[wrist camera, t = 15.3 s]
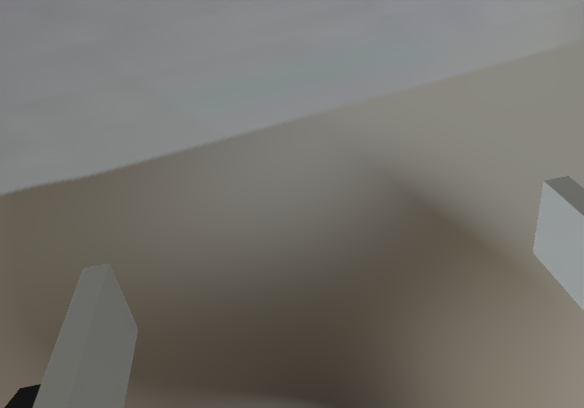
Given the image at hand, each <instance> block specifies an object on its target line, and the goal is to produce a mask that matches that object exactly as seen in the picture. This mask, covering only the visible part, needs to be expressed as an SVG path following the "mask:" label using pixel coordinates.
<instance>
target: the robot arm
mask: <svg viewBox="0 0 584 408" xmlns="http://www.w3.org/2000/svg"><path fill="white" fill-rule="evenodd" d="M533 253H534V254H535V255H536V256H537V258H538V259H539V260H540V261H541V262H542V263H543V265H544V266H545V267H546V268H547V269H548V270H549V271H550V273H551V274H552V275H553V276H554V277H555V278H556V279H557V281H558V282H559V283H560V284H561V285H562V286H563V287H564V288H565V290H566V291H567V292H568V293H569V294H570V295H571V297H572V298H573V299H574V300H575V301H576V302H577V303H578V304H579V306H580V307H581V308H582V309H583V310H584V188H583V187H581V186H580V185H579V184H578V183H576V182H575V181H574V180H572V179H571V178H570V177H569V176H566V177H561V178H556V179H551V180H545V181H544V182H543V189H542V195H541V202H540V209H539V215H538V222H537V229H536V235H535V242H534V249H533ZM137 332H138V328H137V326H136V324H135V321H134V319H133V317H132V315H131V312H130V310H129V308H128V305H127V303H126V301H125V299H124V296H123V294H122V292H121V289H120V287H119V285H118V283H117V281H116V278H115V276H114V273H113V271H112V269H111V267H110V264H104V265H98V266H93V267H87V268H83V270H82V272H81V276H80V278H79V281H78V284H77V287H76V289H75V292H74V295H73V297H72V300H71V303H70V306H69V308H68V311H67V314H66V317H65V320H64V322H63V325H62V328H61V331H60V333H59V336H58V339H57V342H56V345H55V347H54V350H53V353H52V356H51V358H50V361H49V364H48V367H47V369H46V372H45V375H44V378H43V381H42V383H41V384H40V385H35V386H30V387H25V388H20V389H19V390H18V392H17V393H16V394H15V395H14V397H13V398H12V399H11V400H10V402H9V403H8V404H7V405H6V407H5V408H124V402H125V397H126V391H127V386H128V380H129V375H130V370H131V364H132V359H133V353H134V347H135V343H136V337H137Z"/></svg>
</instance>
